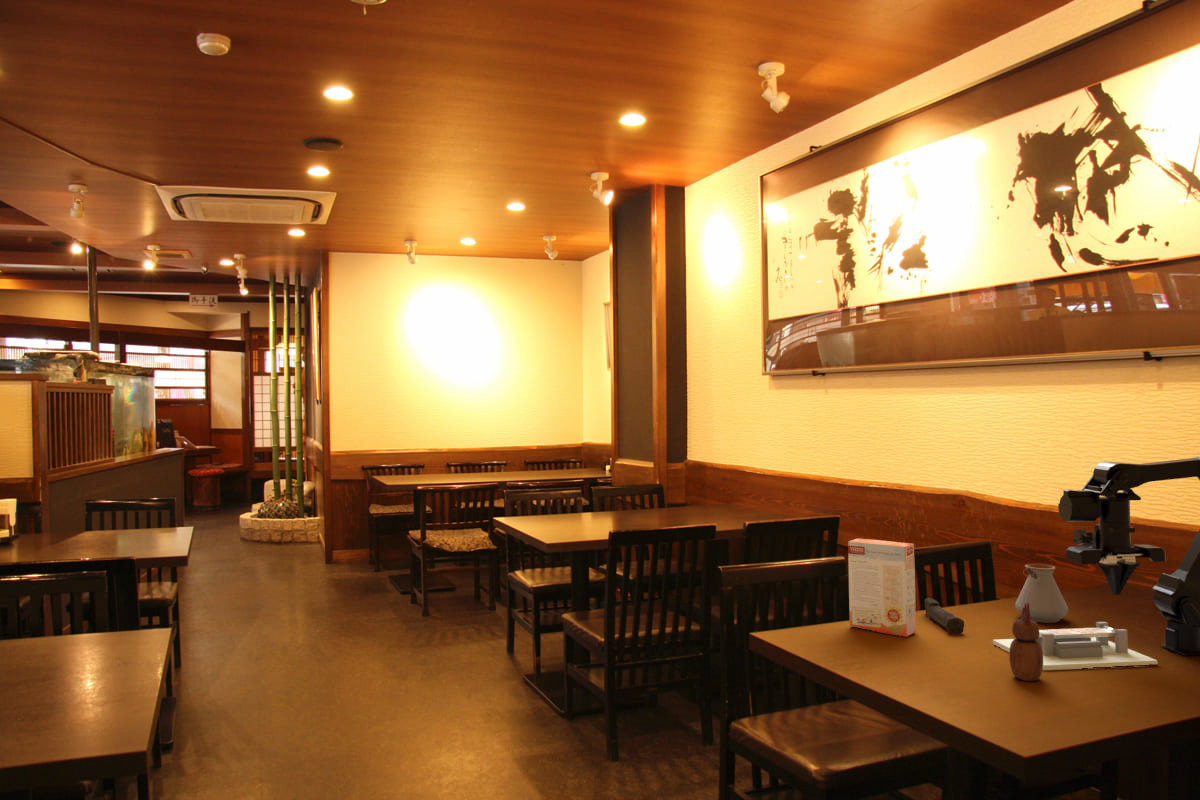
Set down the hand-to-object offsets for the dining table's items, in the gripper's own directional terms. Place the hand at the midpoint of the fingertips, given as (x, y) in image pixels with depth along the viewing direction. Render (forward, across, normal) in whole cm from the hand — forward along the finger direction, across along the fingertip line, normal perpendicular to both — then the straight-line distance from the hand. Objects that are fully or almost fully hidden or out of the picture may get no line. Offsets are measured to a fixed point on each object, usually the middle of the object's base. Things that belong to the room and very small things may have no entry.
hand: (1116, 594), depth 174 cm
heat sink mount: (+12, +11, +1) cm, 16 cm away
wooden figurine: (+12, +29, +14) cm, 34 cm away
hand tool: (+12, +26, -26) cm, 39 cm away
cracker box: (+12, +42, -22) cm, 49 cm away
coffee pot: (+12, +3, -23) cm, 26 cm away
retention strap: (+8, +10, +1) cm, 13 cm away
